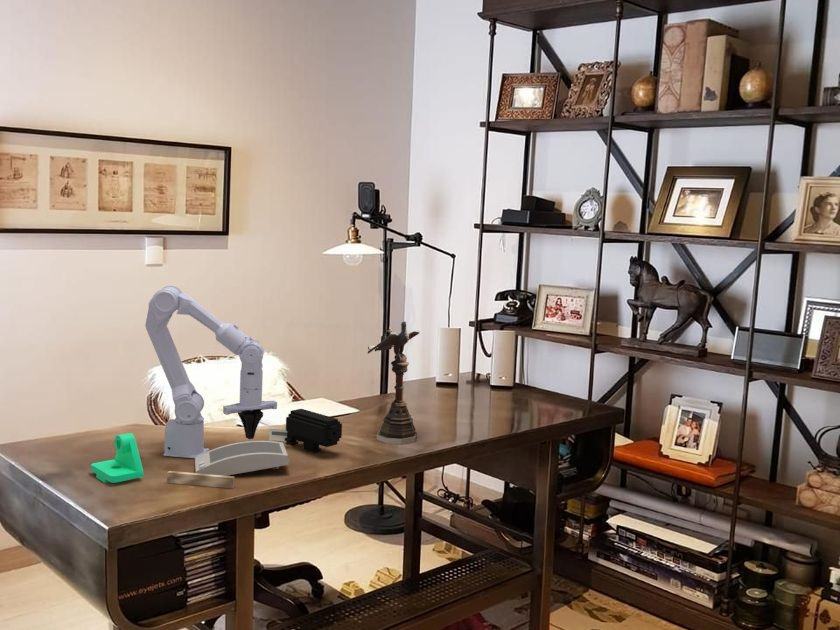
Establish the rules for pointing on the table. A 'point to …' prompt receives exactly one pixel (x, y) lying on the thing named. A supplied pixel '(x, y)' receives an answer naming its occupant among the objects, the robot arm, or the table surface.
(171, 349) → the robot arm
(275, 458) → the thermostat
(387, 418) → the bird statue
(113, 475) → the camera mount
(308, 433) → the security camera
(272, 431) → the label tag
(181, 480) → the rail
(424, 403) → the table surface
